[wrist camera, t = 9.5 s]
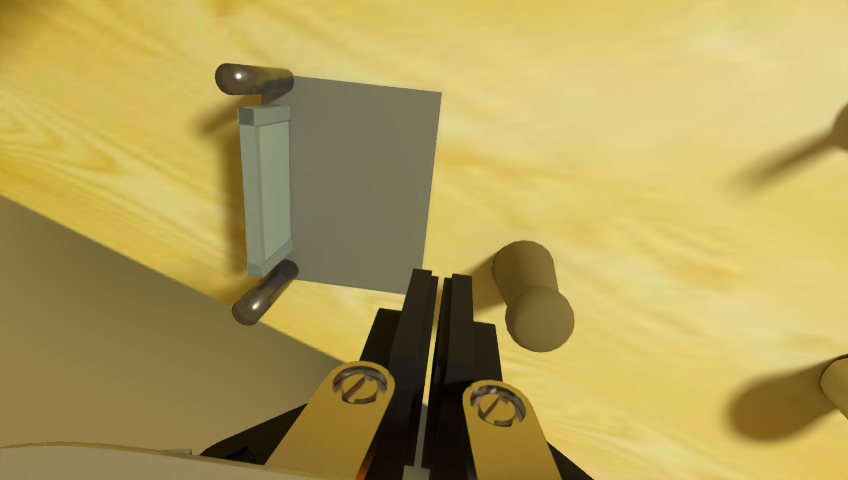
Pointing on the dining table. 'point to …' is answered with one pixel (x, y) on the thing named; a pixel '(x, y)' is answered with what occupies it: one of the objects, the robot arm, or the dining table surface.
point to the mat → (359, 180)
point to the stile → (264, 292)
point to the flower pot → (837, 384)
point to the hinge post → (253, 79)
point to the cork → (532, 297)
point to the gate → (265, 185)
